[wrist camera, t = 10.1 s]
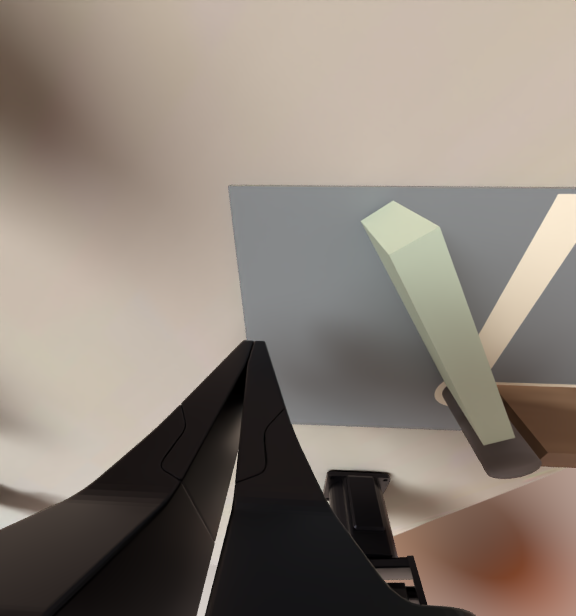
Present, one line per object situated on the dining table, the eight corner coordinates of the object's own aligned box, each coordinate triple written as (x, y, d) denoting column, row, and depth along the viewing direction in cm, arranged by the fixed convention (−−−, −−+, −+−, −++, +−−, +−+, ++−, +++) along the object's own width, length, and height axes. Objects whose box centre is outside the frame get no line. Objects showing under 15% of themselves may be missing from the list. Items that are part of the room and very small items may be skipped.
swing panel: (445, 383, 16) (483, 445, 13) (360, 221, 11) (388, 255, 7) (469, 375, 16) (515, 437, 13) (392, 200, 10) (439, 226, 7)
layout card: (621, 431, 20) (627, 437, 19) (257, 418, 21) (256, 422, 20) (958, 189, 10) (981, 191, 10) (230, 185, 11) (227, 186, 10)
